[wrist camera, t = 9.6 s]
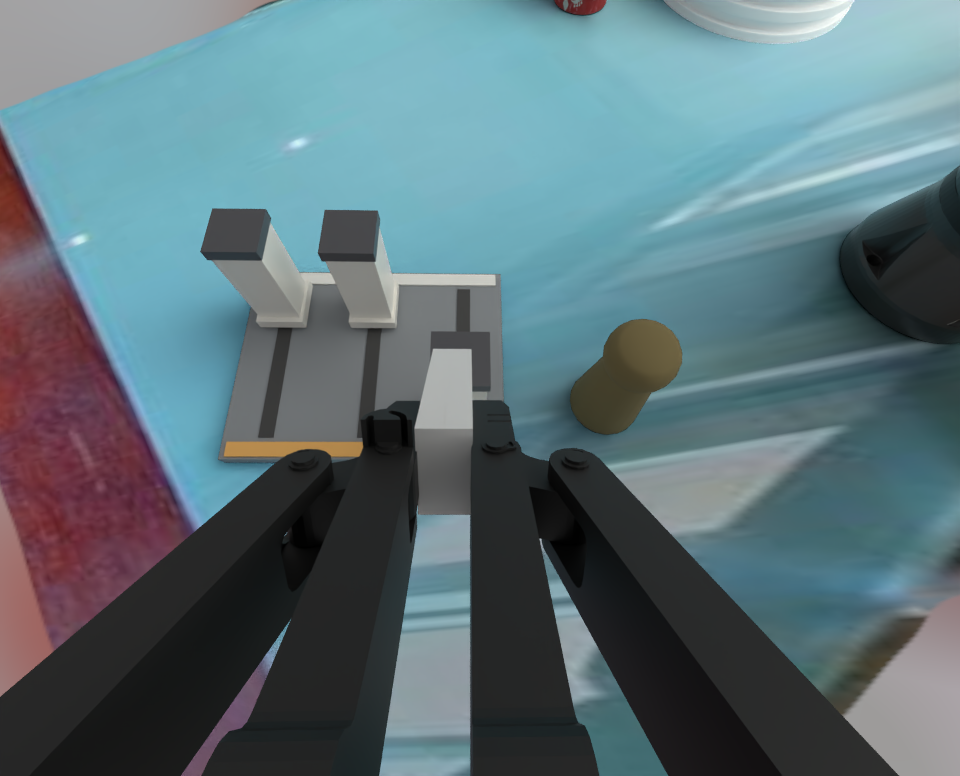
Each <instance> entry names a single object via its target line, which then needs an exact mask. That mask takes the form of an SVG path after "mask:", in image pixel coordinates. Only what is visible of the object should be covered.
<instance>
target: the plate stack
mask: <svg viewBox="0 0 960 776" xmlns="http://www.w3.org/2000/svg"><path fill="white" fill-rule="evenodd" d="M663 1H664V2H665V3H666V4H667V5H668V6H669V7H670V8H672V9H673V10H674V11H675V12H676V13H678V14H679V15H681V16H682V17H683V18H685V19H687V20H688V21H690V22H692V23H694V24H695V25H697V26H699V27H702V28H704V29H706V30H708V31H711V32H713V33H716V34H719V35H722V36H725V37H729V38H733V39H737V40H742V41H747V42H754V43H764V44H787V43H796V42H802V41H806V40H810V39H813V38H816V37H819V36H821V35H823V34H825V33H827V32H829V31H830V30H832V29H833V28H835V27H836V26H837V25H838V24H839V23H840V22H841V20H842V19H843V18H844V16H845V15H846V13H847V12H848V10H849V9H850V7H851V5H852V3H853V2H854V1H855V0H663Z"/></svg>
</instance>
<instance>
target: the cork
mask: <svg viewBox="0 0 960 776" xmlns="http://www.w3.org/2000/svg"><path fill="white" fill-rule="evenodd" d="M681 364H682V350H681V347H680V344H679V341H678V339H677V338H676V336H675V335H674V333H673V332H672V331H671V330H670V329H668V328H667V327H666V326H665V325H663V324H661V323H659V322H656V321H653V320H647V319H638V320H631V321H628V322H626V323H624V324H622V325H620V326H619V327H617V328H616V329H615V330H614V331H613V332H612V333H611V334H610V336H609V338H608V340H607V341H606V343H605V345H604V351H603V357H602V358H601V359H600V360H599V361H598V362H596V363H595V364H594V365H593V366H592V367H591V368H590V369H589V370H588V371H587V372H586V373H585V374H584V375H583V376H581V377H580V378H579V379H578V380H577V381H576V382H575V384H574V386H573V388H572V390H571V396H570V403H571V408H572V411H573V413H574V415H575V416H576V418H577V420H578V421H579V422H580V423H581V424H582V425H584V426H585V427H586V428H588V429H590V430H592V431H593V432H596V433H601V434H606V435H607V434H616V433H619V432H621V431H623V430H625V429H627V428H628V427H629V426H630V425H631V424H632V423H633V422H634V420H635V418H636V417H637V415H638V413H639V412H640V410H641V409H642V407H643V405H644V404H645V402H646V401H647V399H648V397H649V396H650V394H651V392H655V391H657V390H659V389H661V388H664V387H665V386H667V385H668V384H669V383H670V382H671V381H672V380H673V379H674V378H675V377H676V375H677V373H678V371H679V368H680V366H681Z"/></svg>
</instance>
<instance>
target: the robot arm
mask: <svg viewBox="0 0 960 776" xmlns="http://www.w3.org/2000/svg"><path fill="white" fill-rule="evenodd" d="M840 263H841V269H842V273H843V276H844V278H845V281H846V283H847V285H848V287H849V288H850V290H851V292H852V293H853V295H854V296H855V297H856V299H857V300H858V301H859V302H860V303H861V304H862V305H863V307H865V308H866V309H867V310H868V311H869V312H870V313H871V314H872V315H873V316H875V317H876V318H877V319H878V320H880V321H881V322H883V323H884V324H886V325H887V326H889V327H891V328H893V329H894V330H896V331H898V332H900V333H903V334H905V335H907V336H910V337H913V338H916V339H919V340H923V341H927V342H932V343H942V344H951V343H960V165H959V166H958V167H957V168H956V169H954V170H953V171H952V172H951V173H950V174H948V175H947V176H946V177H944V178H943V179H942V180H940V181H938V182H936V183H934V184H932V185H930V186H928V187H925V188H923V189H921V190H919V191H917V192H915V193H913V194H911V195H909V196H907V197H904V198H902V199H900V200H898V201H896V202H894V203H892V204H890V205H888V206H886V207H883V208H881V209H879V210H878V211H876V212H874V213H873V214H871V215H870V216H868V217H867V218H866V219H865V220H864V221H863V222H861V223H860V224H859V225H858V226H857V227H856V228H855V229H853V230H852V231H851V232H850V233H849V234H848V236H847V237H846V239H845V240H844V242H843V245H842V248H841V254H840ZM360 421H361V431H362V441H363V449H362V451H361V454H360V456H359V457H356V458H354V459H350V460H346V461H340V462H334V463H332V460H331V455H330V454H328V453H327V452H326V451H323V450H319V449H304V450H303V449H302V450H298V451H296V452H293V453H290V454H288V455H286V456H285V457H283V458H281V459H280V460H279V461H278V462H276V463H275V464H274V465H273V466H272V467H270V468H269V469H268V470H267V471H266V472H265V473H263V474H262V475H261V476H260V477H259V478H257V479H256V480H255V481H254V482H253V483H252V484H250V485H249V486H248V487H247V488H246V489H245V490H243V491H242V492H241V493H240V494H239V495H237V496H236V497H235V498H234V499H233V500H232V501H230V502H229V503H228V504H227V505H226V506H225V507H223V508H222V509H221V510H220V511H219V512H217V513H216V514H215V515H214V516H213V517H212V518H210V519H209V520H208V521H207V522H206V523H204V524H203V525H202V526H201V527H200V528H199V529H197V530H196V531H195V532H194V533H193V534H192V535H190V536H189V537H188V538H187V539H186V540H184V541H183V542H182V543H181V544H180V545H179V546H177V547H176V548H175V549H174V550H173V551H172V552H170V553H169V554H168V555H167V556H166V557H164V558H163V559H162V560H161V561H160V562H159V563H157V564H156V565H155V566H154V567H153V568H151V569H150V570H149V571H148V572H147V573H146V574H144V575H143V576H142V577H141V578H140V579H139V580H137V581H136V582H135V583H134V584H133V585H131V586H130V587H129V588H128V589H127V590H126V591H124V592H123V593H122V594H121V595H120V596H119V597H117V598H116V599H115V600H114V601H113V602H111V603H110V604H109V605H108V606H107V607H106V608H104V609H103V610H102V611H101V612H100V613H98V614H97V615H96V616H95V617H94V618H93V619H91V620H90V621H89V622H88V623H87V624H86V625H84V626H83V627H82V628H81V629H80V630H78V631H77V632H76V633H75V634H74V635H73V636H71V637H70V638H69V639H68V640H67V641H66V642H64V643H63V644H62V645H61V646H60V647H58V648H57V649H56V650H55V651H54V652H53V653H51V654H50V655H49V656H48V657H47V658H46V659H44V660H43V661H42V662H41V663H40V664H39V665H37V666H36V667H35V668H34V669H33V670H31V671H30V672H29V673H28V674H27V675H26V676H24V677H23V678H22V679H21V680H20V681H18V682H17V683H16V684H15V685H14V686H13V687H11V688H10V689H9V690H8V691H7V692H5V693H4V694H3V695H2V696H1V697H0V776H181V774H182V773H183V772H184V770H185V769H186V767H187V766H188V765H189V763H190V762H191V760H192V759H193V757H194V756H195V755H196V753H197V752H198V750H199V749H200V747H201V746H202V745H203V743H204V742H205V740H206V739H207V737H208V736H209V735H210V733H211V732H212V730H213V729H214V728H215V726H216V725H217V723H218V722H219V720H220V719H221V718H222V716H223V715H224V713H225V712H226V710H227V709H228V708H229V706H230V705H231V703H232V702H233V700H234V699H235V698H236V696H237V695H238V693H239V692H240V691H241V689H242V688H243V686H244V685H245V683H246V682H247V681H248V679H249V678H250V676H251V675H252V673H253V672H254V671H255V669H256V668H257V666H258V665H259V663H260V662H261V661H262V659H263V658H264V656H265V655H266V654H267V652H268V651H269V649H270V648H271V646H272V645H273V644H274V642H275V641H276V639H277V638H278V636H279V635H280V634H281V632H282V631H283V629H284V628H285V626H286V625H287V624H288V622H289V621H290V619H291V621H290V623H289V625H288V628H287V630H286V633H285V635H284V637H283V640H282V642H281V645H280V647H279V649H278V652H277V654H276V656H275V659H274V661H273V664H272V666H271V668H270V671H269V673H268V676H267V678H266V680H265V683H264V685H263V687H262V690H261V692H260V695H259V697H258V699H257V702H256V704H255V707H254V709H253V711H252V713H251V715H250V717H249V719H248V721H247V723H246V724H245V725H244V726H243V727H242V728H241V729H237V730H232V731H229V732H228V733H227V734H226V735H225V736H224V737H223V738H222V740H221V741H220V742H219V743H218V745H217V747H216V748H215V750H214V752H213V754H212V756H211V757H210V759H209V761H208V763H207V765H206V767H205V770H204V772H203V774H202V776H379V772H380V765H381V759H382V752H383V746H384V739H385V733H386V726H387V720H388V713H389V707H390V700H391V694H392V687H393V681H394V674H395V668H396V661H397V655H398V648H399V642H400V635H401V629H402V622H403V616H404V609H405V603H406V596H407V589H408V583H409V576H410V570H411V563H412V557H413V550H414V544H415V537H416V531H417V514H416V511H417V505H418V515H471V516H470V776H599V772H598V768H597V763H596V759H595V754H594V751H593V747H592V743H591V740H590V736H589V734H588V732H587V730H586V727H585V726H584V725H582V724H580V723H578V721H577V718H576V716H575V712H574V708H573V703H572V698H571V693H570V688H569V683H568V678H567V673H566V668H565V663H564V658H563V653H562V649H561V644H560V639H559V634H558V629H557V624H556V619H555V614H554V609H553V604H552V599H551V594H550V589H549V584H548V579H547V575H546V570H545V565H544V560H543V555H542V550H541V545H540V540H539V538H541V539H542V544H543V548H544V549H545V551H546V553H547V555H548V557H549V559H550V560H551V562H552V564H553V566H554V568H555V570H556V571H557V573H558V575H559V577H560V579H561V581H562V582H563V584H564V586H565V588H566V590H567V591H568V593H569V595H570V597H571V599H572V601H573V602H574V604H575V606H576V608H577V610H578V612H579V613H580V615H581V617H582V619H583V621H584V623H585V624H586V626H587V628H588V630H589V632H590V634H591V635H592V637H593V639H594V641H595V643H596V644H597V646H598V648H599V650H600V652H601V654H602V655H603V657H604V659H605V661H606V663H607V665H608V666H609V668H610V670H611V672H612V674H613V676H614V677H615V679H616V681H617V683H618V685H619V687H620V688H621V690H622V692H623V694H624V696H625V697H626V699H627V701H628V703H629V705H630V707H631V708H632V710H633V712H634V714H635V716H636V718H637V719H638V721H639V723H640V725H641V727H642V729H643V730H644V732H645V734H646V736H647V738H648V739H649V741H650V743H651V745H652V747H653V749H654V750H655V752H656V754H657V756H658V758H659V760H660V761H661V763H662V765H663V767H664V769H665V771H666V772H667V774H668V776H899V775H898V774H897V773H896V772H895V771H894V770H893V769H892V768H891V767H890V766H889V765H888V764H887V763H886V762H885V761H884V759H883V758H882V757H881V756H880V755H879V754H878V753H877V752H876V751H875V750H874V749H873V748H872V747H871V746H870V745H869V744H868V743H867V742H866V740H865V739H864V738H863V737H862V736H861V735H860V734H859V733H858V732H857V731H856V730H855V729H854V728H853V727H852V726H851V725H850V724H849V722H848V721H847V720H846V719H845V718H844V717H843V716H842V715H841V714H840V713H839V712H838V711H837V710H836V709H835V708H834V707H833V705H832V704H831V703H830V702H829V701H828V700H827V699H826V698H825V697H824V696H823V695H822V694H821V693H820V692H819V691H818V690H817V689H816V688H815V686H814V685H813V684H812V683H811V682H810V681H809V680H808V679H807V678H806V677H805V676H804V675H803V674H802V673H801V672H800V671H799V670H798V668H797V667H796V666H795V665H794V664H793V663H792V662H791V661H790V660H789V659H788V658H787V657H786V656H785V655H784V654H783V653H782V652H781V650H780V649H779V648H778V647H777V646H776V645H775V644H774V643H773V642H772V641H771V640H770V639H769V638H768V637H767V636H766V635H765V634H764V632H763V631H762V630H761V629H760V628H759V627H758V626H757V625H756V624H755V623H754V622H753V621H752V620H751V619H750V618H749V617H748V616H747V614H746V613H745V612H744V611H743V610H742V609H741V608H740V607H739V606H738V605H737V604H736V603H735V602H734V601H733V600H732V599H731V598H730V597H729V595H728V594H727V593H726V592H725V591H724V590H723V589H722V588H721V587H720V586H719V585H718V584H717V583H716V582H715V581H714V580H713V579H712V577H711V576H710V575H709V574H708V573H707V572H706V571H705V570H704V569H703V568H702V567H701V566H700V565H699V564H698V563H697V562H696V561H695V559H694V558H693V557H692V556H691V555H690V554H689V553H688V552H687V551H686V550H685V549H684V548H683V547H682V546H681V545H680V544H679V543H678V541H677V540H676V539H675V538H674V537H673V536H672V535H671V534H670V533H669V532H668V531H667V530H666V529H665V528H664V527H663V526H662V525H661V523H660V522H659V521H658V520H657V519H656V518H655V517H654V516H653V515H652V514H651V513H650V512H649V511H648V510H647V509H646V508H645V507H644V506H643V504H642V503H641V502H640V501H639V500H638V499H637V498H636V497H635V496H634V495H633V494H632V493H631V492H630V491H629V490H628V489H627V488H626V486H625V485H624V484H623V483H622V482H621V481H620V480H619V479H618V478H617V477H616V476H615V475H614V474H613V473H612V472H611V471H610V470H609V468H608V467H607V466H606V465H605V464H604V463H603V462H602V461H601V460H600V459H599V458H598V457H596V456H595V455H594V454H592V453H590V452H587V451H585V450H582V449H577V448H567V449H561V450H557V451H555V452H554V453H552V454H551V456H550V458H549V461H544V460H539V459H535V458H532V457H529V456H527V455H525V454H524V453H522V451H521V447H520V445H519V444H518V442H516V441H515V437H514V432H513V427H512V422H511V416H510V411H509V407H508V406H507V405H506V404H505V403H504V402H503V401H502V400H472V350H471V349H433V352H432V356H431V360H430V365H429V369H428V373H427V377H426V382H425V386H424V390H423V394H422V398H421V401H395V402H394V403H393V404H391V405H390V406H389V407H388V408H387V409H380V410H376V411H372V412H370V413H368V414H366V415H364V416H363V417H362V418H361V419H360ZM286 533H287V534H286ZM285 534H286V535H285Z"/></svg>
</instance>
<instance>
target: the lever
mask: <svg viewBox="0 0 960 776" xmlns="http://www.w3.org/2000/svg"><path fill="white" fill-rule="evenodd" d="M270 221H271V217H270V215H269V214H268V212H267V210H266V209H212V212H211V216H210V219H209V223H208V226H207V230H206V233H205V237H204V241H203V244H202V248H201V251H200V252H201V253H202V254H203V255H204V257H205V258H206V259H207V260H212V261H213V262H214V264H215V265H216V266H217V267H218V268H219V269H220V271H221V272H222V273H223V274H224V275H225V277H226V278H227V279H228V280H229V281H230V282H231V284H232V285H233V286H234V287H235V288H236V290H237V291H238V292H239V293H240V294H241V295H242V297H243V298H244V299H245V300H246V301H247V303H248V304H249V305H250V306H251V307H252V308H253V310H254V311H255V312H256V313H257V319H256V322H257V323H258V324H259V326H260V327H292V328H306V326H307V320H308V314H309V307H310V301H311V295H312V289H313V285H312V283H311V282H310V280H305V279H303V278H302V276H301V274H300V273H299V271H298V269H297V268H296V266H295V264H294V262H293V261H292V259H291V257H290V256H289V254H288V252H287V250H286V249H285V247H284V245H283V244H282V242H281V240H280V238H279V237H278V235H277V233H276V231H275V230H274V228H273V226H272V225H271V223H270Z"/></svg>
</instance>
